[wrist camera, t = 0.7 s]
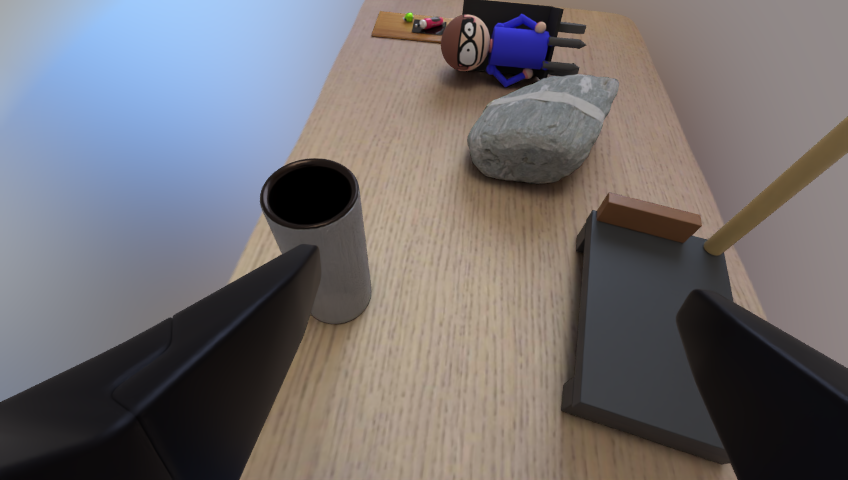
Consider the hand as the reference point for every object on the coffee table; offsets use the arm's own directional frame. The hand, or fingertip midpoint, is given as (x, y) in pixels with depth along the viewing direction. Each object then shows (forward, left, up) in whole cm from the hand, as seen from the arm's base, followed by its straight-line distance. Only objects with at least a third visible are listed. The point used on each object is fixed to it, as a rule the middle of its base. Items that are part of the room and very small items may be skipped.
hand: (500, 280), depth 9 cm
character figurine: (+36, +3, -16) cm, 40 cm away
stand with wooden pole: (+9, -11, -16) cm, 21 cm away
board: (+43, +15, -16) cm, 48 cm away
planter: (+5, +9, -16) cm, 19 cm away
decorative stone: (+25, -2, -16) cm, 30 cm away
